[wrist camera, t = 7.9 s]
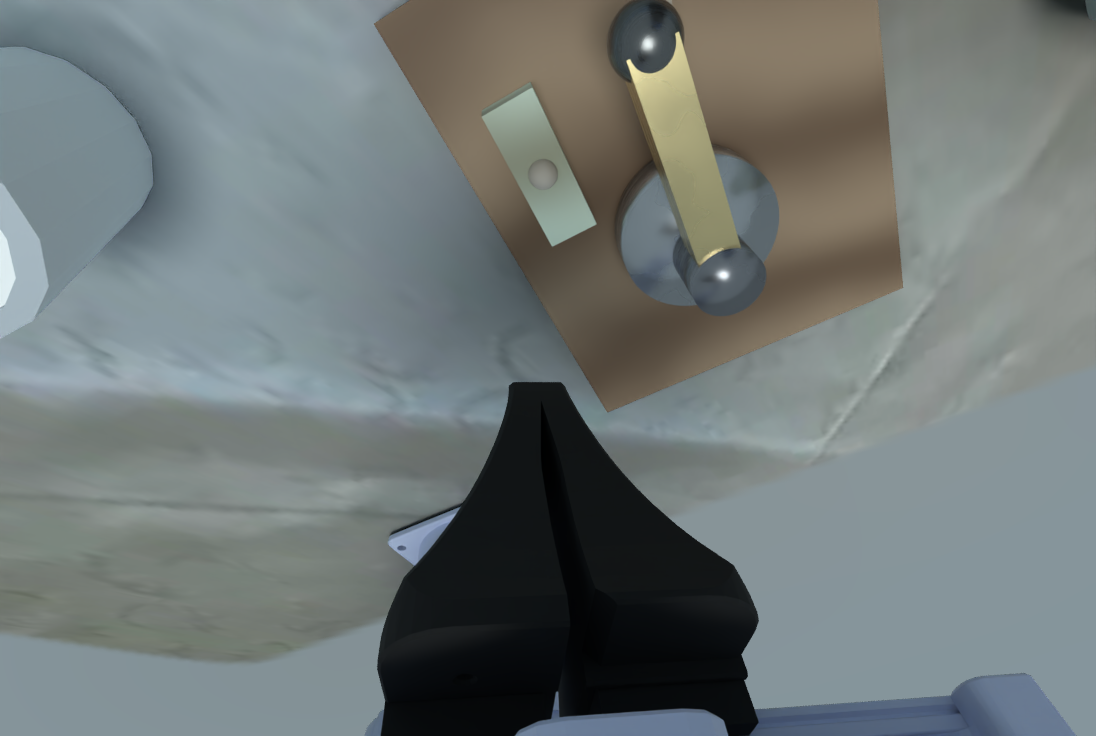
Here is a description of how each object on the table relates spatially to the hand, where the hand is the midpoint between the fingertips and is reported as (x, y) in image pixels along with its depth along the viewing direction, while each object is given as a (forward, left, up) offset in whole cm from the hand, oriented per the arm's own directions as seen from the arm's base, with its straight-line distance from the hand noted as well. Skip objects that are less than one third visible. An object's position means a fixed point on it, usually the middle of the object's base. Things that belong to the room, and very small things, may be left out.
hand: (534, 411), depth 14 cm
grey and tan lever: (+1, -6, -9) cm, 11 cm away
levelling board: (0, -7, -10) cm, 12 cm away
